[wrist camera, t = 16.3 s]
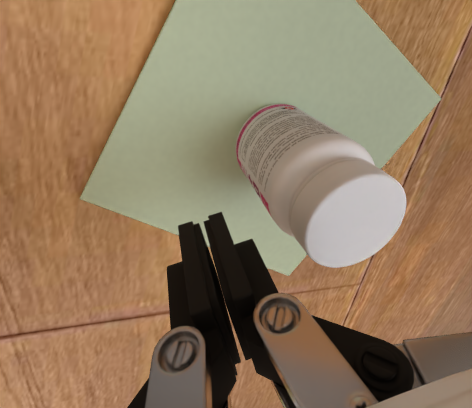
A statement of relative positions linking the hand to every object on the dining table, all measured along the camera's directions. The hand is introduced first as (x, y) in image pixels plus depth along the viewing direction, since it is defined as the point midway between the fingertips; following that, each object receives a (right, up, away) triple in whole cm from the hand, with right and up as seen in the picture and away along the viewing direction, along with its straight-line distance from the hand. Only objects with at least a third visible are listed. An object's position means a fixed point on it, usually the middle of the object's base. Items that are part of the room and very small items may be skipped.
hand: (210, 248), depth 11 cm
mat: (+3, +5, +7) cm, 9 cm away
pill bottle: (+3, +5, +6) cm, 9 cm away
